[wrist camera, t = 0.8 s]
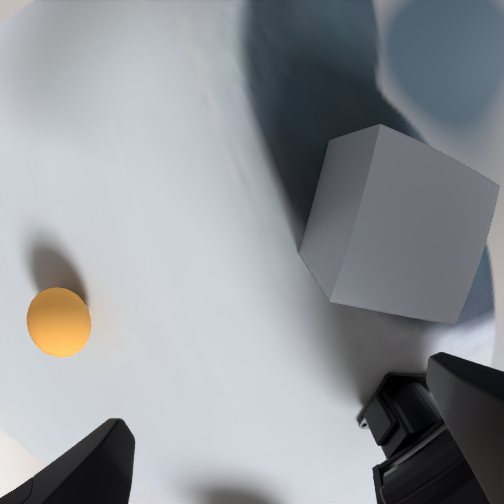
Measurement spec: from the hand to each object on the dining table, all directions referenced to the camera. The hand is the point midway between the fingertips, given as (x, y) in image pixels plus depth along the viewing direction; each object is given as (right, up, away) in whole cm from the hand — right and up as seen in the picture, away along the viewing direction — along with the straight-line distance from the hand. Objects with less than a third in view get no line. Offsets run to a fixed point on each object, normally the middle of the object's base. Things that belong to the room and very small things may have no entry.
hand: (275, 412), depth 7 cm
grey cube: (+7, +7, +12) cm, 16 cm away
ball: (-14, -1, +11) cm, 18 cm away
